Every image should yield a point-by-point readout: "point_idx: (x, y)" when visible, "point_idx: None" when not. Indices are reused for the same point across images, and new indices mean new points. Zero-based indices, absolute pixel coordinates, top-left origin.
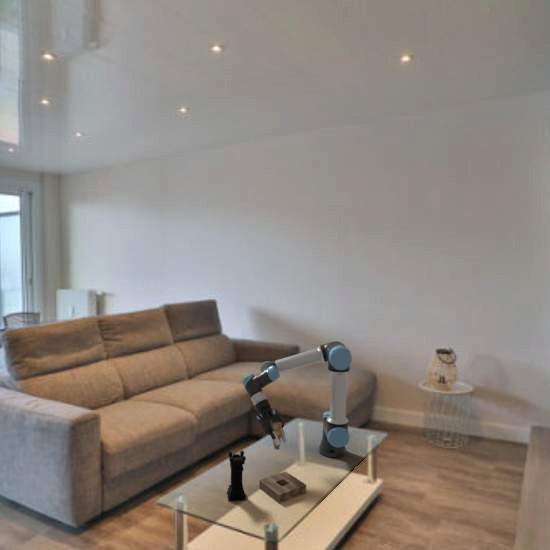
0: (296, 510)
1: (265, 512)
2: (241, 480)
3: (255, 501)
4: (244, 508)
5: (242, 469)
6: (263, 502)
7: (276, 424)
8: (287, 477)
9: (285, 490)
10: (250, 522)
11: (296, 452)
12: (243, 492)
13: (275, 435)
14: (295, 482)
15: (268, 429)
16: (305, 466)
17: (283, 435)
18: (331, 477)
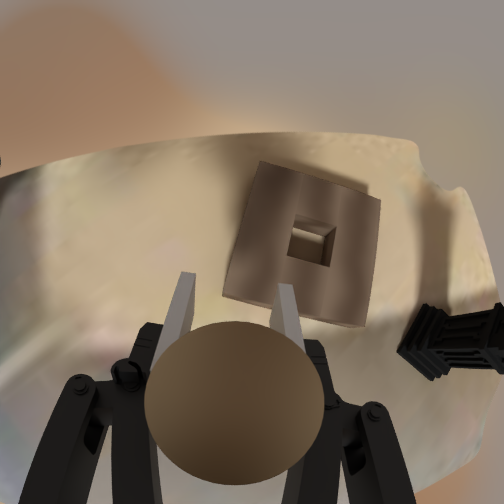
0: (353, 154)
1: (419, 216)
2: (468, 315)
3: (409, 276)
4: (445, 274)
5: (500, 304)
6: (396, 253)
7: (288, 393)
8: (264, 250)
9: (346, 198)
10: (460, 220)
11: (21, 386)
12: (440, 310)
13: (302, 346)
14: (274, 200)
15: (372, 428)
16: (81, 294)
17: (185, 316)
18: (104, 171)
